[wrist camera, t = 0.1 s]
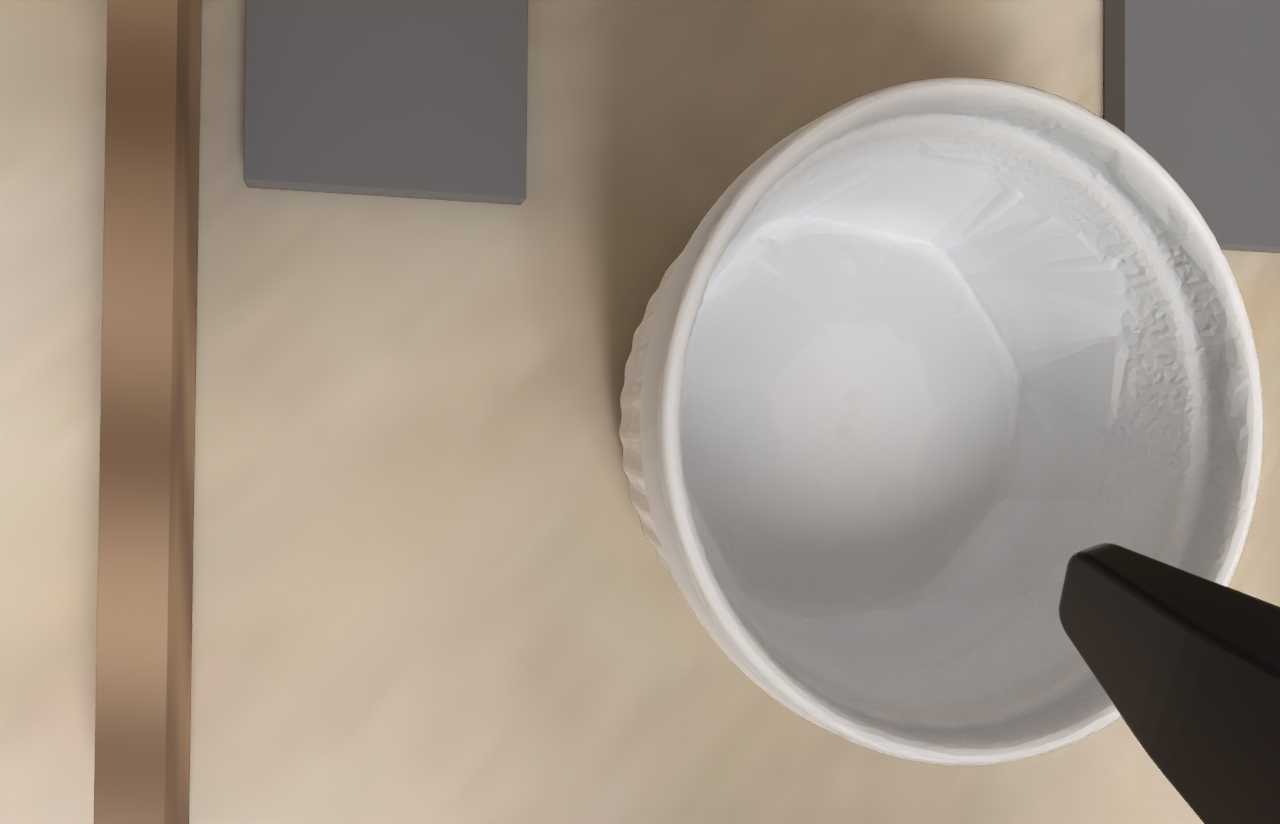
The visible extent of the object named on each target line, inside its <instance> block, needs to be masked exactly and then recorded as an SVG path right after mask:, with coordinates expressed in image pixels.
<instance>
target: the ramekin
mask: <svg viewBox="0 0 1280 824" xmlns="http://www.w3.org/2000/svg"><path fill="white" fill-rule="evenodd" d="M620 406H621V411H622V418H621V425H620V428H619V436H620V439H621V442H622V445H623V459H622V465H623V470H624V472H625V474H626V475H627V477H628V479H629V482H630V498H631V502H632V505H633V506H634V508H635V509H636V511H637V512H638V513H639V515H640V519H641V527H642V531H643V533H644V535H645V536H646V538H647V539H648V540H649V541H650V542H651V543H652V544H653V545H654V546H655V548H656V553H657V557H658V560H659V562H660V563H661V565H662V566H663V567H664V569H665V570H666V571H667V572H668V573H669V574H670V575H671V576H672V577H673V580H674V582H675V585H676V587H677V588H678V590H679V591H680V592H681V593H682V595H683V596H684V597H685V598H686V600H687V602H688V603H689V605H690V607H691V609H692V610H693V612H694V613H695V615H696V616H697V618H698V619H699V620H700V622H701V623H702V625H703V626H704V628H705V629H706V630H707V632H708V633H709V634H710V636H711V637H712V639H713V640H714V641H715V643H716V644H717V645H718V646H719V647H720V648H721V649H722V651H723V652H724V653H725V654H726V655H727V656H728V657H729V659H730V660H731V661H732V662H733V663H734V664H735V665H736V666H737V667H738V668H739V669H740V670H741V671H742V672H744V673H745V674H746V675H747V676H748V677H749V678H750V679H751V680H752V681H753V682H754V683H755V684H756V685H758V686H759V687H760V688H761V689H763V690H764V691H765V692H766V693H768V694H769V695H770V696H771V697H773V698H774V699H775V700H776V701H778V702H779V703H781V704H783V705H784V706H786V707H787V708H789V709H790V710H792V711H793V712H795V713H796V714H798V715H799V716H801V717H803V718H805V719H807V720H808V721H810V722H812V723H814V724H816V725H818V726H820V727H822V728H824V729H826V730H828V731H830V732H833V733H835V734H837V735H839V736H841V737H843V738H845V739H847V740H849V741H851V742H854V743H857V744H859V745H862V746H864V747H867V748H870V749H873V750H875V751H878V752H881V753H884V754H889V755H892V756H895V757H899V758H903V759H908V760H913V761H918V762H925V763H931V764H937V765H987V764H997V763H1005V762H1010V761H1016V760H1021V759H1026V758H1029V757H1032V756H1036V755H1041V754H1044V753H1047V752H1050V751H1053V750H1055V749H1058V748H1061V747H1064V746H1067V745H1070V744H1072V743H1074V742H1076V741H1079V740H1082V739H1083V738H1085V737H1086V736H1088V735H1090V734H1092V733H1094V732H1096V731H1098V730H1100V729H1102V728H1103V727H1105V726H1107V725H1109V724H1110V723H1112V722H1114V721H1115V720H1116V719H1118V718H1119V717H1121V715H1120V713H1119V712H1118V710H1117V709H1116V707H1115V706H1114V704H1113V703H1112V701H1111V700H1110V698H1109V697H1108V695H1107V694H1106V692H1105V691H1104V689H1103V688H1102V686H1101V685H1100V683H1099V682H1098V680H1097V679H1096V677H1095V676H1094V674H1093V673H1092V671H1091V670H1090V669H1089V667H1088V666H1087V664H1086V663H1085V661H1084V660H1083V658H1082V657H1081V655H1080V654H1079V652H1078V651H1077V649H1076V648H1075V646H1074V645H1073V643H1072V642H1071V640H1070V639H1069V637H1068V636H1067V634H1066V633H1065V631H1064V629H1063V626H1062V624H1061V621H1060V617H1059V603H1060V598H1061V593H1062V588H1063V584H1064V579H1065V574H1066V569H1067V564H1068V561H1069V559H1070V558H1071V556H1072V555H1073V554H1075V553H1076V552H1079V551H1081V550H1084V549H1087V548H1090V547H1092V546H1095V545H1098V544H1102V543H1112V544H1116V545H1119V546H1122V547H1124V548H1127V549H1130V550H1132V551H1135V552H1138V553H1140V554H1143V555H1145V556H1148V557H1151V558H1153V559H1156V560H1158V561H1161V562H1164V563H1166V564H1169V565H1171V566H1174V567H1177V568H1179V569H1182V570H1184V571H1187V572H1190V573H1192V574H1195V575H1197V576H1200V577H1203V578H1205V579H1208V580H1210V581H1213V582H1216V583H1218V584H1221V585H1223V586H1226V587H1228V585H1229V583H1230V580H1231V578H1232V576H1233V575H1234V573H1235V569H1236V566H1237V564H1238V562H1239V560H1240V557H1241V553H1242V550H1243V547H1244V544H1245V541H1246V538H1247V533H1248V530H1249V527H1250V524H1251V520H1252V516H1253V511H1254V504H1255V501H1256V499H1257V492H1258V484H1259V478H1260V471H1261V462H1262V453H1263V399H1262V386H1261V378H1260V370H1259V363H1258V357H1257V352H1256V348H1255V343H1254V338H1253V333H1252V329H1251V325H1250V322H1249V318H1248V315H1247V312H1246V309H1245V305H1244V302H1243V299H1242V295H1241V291H1240V289H1239V288H1238V286H1237V283H1236V281H1235V278H1234V275H1233V273H1232V271H1231V268H1230V266H1229V263H1228V261H1227V258H1226V257H1225V256H1224V254H1223V252H1222V250H1221V248H1220V246H1219V244H1218V243H1217V241H1216V238H1215V236H1214V234H1213V233H1212V231H1211V230H1210V228H1209V227H1208V225H1207V223H1206V222H1205V220H1204V218H1203V217H1202V215H1201V214H1200V212H1199V211H1198V209H1197V208H1196V206H1195V205H1194V204H1193V202H1192V201H1191V199H1190V198H1189V197H1188V196H1187V194H1186V193H1185V192H1184V191H1183V189H1182V188H1181V187H1180V186H1179V184H1178V183H1177V182H1176V181H1175V180H1174V179H1173V178H1172V177H1171V176H1170V175H1169V173H1168V172H1167V171H1166V170H1165V169H1164V168H1163V167H1162V166H1161V165H1160V164H1159V163H1158V162H1157V161H1156V160H1155V159H1154V158H1153V157H1152V156H1151V155H1150V154H1148V153H1147V152H1146V151H1145V150H1144V149H1143V148H1142V147H1141V146H1139V145H1138V144H1137V143H1136V142H1135V141H1133V140H1132V139H1131V138H1130V137H1129V136H1127V135H1126V134H1125V133H1124V132H1122V131H1121V130H1120V129H1118V128H1117V127H1116V126H1114V125H1112V124H1110V123H1109V122H1108V121H1106V120H1105V119H1103V118H1101V117H1099V116H1097V115H1095V114H1094V113H1092V112H1090V111H1089V110H1087V109H1085V108H1084V107H1082V106H1081V105H1079V104H1077V103H1074V102H1071V101H1069V100H1066V99H1064V98H1062V97H1059V96H1057V95H1054V94H1050V93H1048V92H1045V91H1043V90H1040V89H1037V88H1033V87H1029V86H1024V85H1020V84H1015V83H1010V82H1005V81H1000V80H993V79H983V78H969V77H946V78H932V79H925V80H917V81H911V82H907V83H903V84H899V85H895V86H891V87H888V88H884V89H881V90H878V91H875V92H872V93H869V94H866V95H863V96H861V97H859V98H856V99H854V100H852V101H850V102H847V103H845V104H843V105H841V106H839V107H837V108H835V109H833V110H831V111H829V112H828V113H826V114H824V115H822V116H820V117H819V118H817V119H815V120H813V121H812V122H810V123H808V124H806V125H805V126H803V127H801V128H800V129H798V130H796V131H794V132H793V133H791V134H790V135H788V136H787V137H785V138H784V139H782V140H781V141H779V142H778V143H777V144H775V145H774V146H773V147H771V148H770V149H769V150H768V151H766V152H765V153H764V154H763V155H761V156H760V157H759V158H758V159H757V160H756V161H755V162H753V163H752V164H751V165H750V166H749V167H748V168H746V169H745V170H744V171H743V172H742V173H741V175H740V176H739V177H738V178H737V179H736V180H735V181H734V182H733V183H732V184H731V185H730V186H729V187H728V188H727V189H726V190H725V192H724V193H723V194H722V195H721V196H720V198H719V199H718V200H717V201H716V203H715V204H714V205H713V206H712V207H711V209H710V210H709V211H708V212H707V214H706V215H705V217H704V218H703V219H702V221H701V222H700V224H699V225H698V227H697V229H696V230H695V232H694V233H693V235H692V236H691V238H690V240H689V242H688V244H687V245H686V246H685V248H684V250H683V252H682V253H681V254H680V255H679V256H678V257H677V258H676V259H675V260H674V262H673V263H672V264H671V265H670V266H669V268H668V269H667V270H666V272H665V274H664V276H663V278H662V280H661V283H660V286H659V288H658V289H657V290H656V291H655V293H654V294H653V295H652V296H651V298H650V300H649V302H648V304H647V307H646V311H645V315H644V318H643V320H642V322H641V324H640V325H639V326H638V328H637V329H636V331H635V333H634V336H633V343H632V351H631V353H630V356H629V358H628V360H627V362H626V366H625V382H624V387H623V390H622V392H621V396H620Z"/></svg>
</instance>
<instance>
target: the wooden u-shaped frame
mask: <svg viewBox="0 0 1280 824" xmlns="http://www.w3.org/2000/svg"><path fill="white" fill-rule="evenodd" d="M200 64H201V0H108V18H107V76H106V135H105V193H104V252H103V311H102V369H101V428H100V486H99V545H98V603H97V662H96V721H95V779H94V824H189V773H190V708H191V644H192V580H193V515H194V451H195V386H196V322H197V258H198V193H199V129H200Z"/></svg>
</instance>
